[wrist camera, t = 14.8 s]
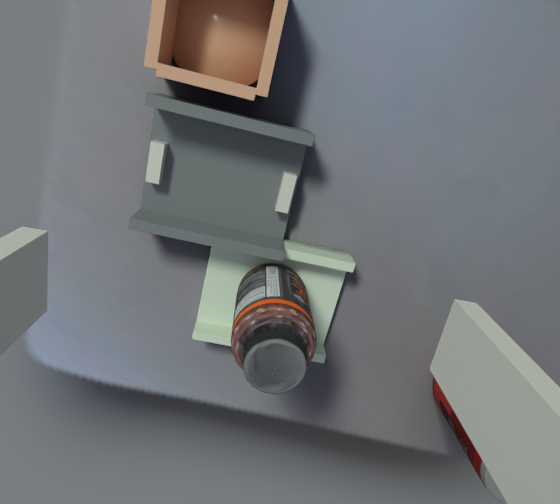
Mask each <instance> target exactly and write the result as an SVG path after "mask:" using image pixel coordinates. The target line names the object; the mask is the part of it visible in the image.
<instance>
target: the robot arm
mask: <svg viewBox="0 0 560 504" xmlns="http://www.w3.org/2000/svg"><path fill="white" fill-rule="evenodd" d="M47 272H48V231H45V230H39V229H33V228H27V227H21V228H19V229H17V230H15V231H13V232H11V233H9V234H8V235H6V236H4V237H2V238H0V355H1V354H2V353H3V352H4V351H6V350H7V349H8V348H9V347H10V346H11V345H12V344H13V343H14V342H15V341H16V340H17V339H18V338H19V337H20V336H21V335H22V334H23V333H24V332H25V331H26V330H27V329H28V328H29V327H30V326H31V325H32V324H33V323H34V322H35V321H37V320H38V319H39V318H40V317H41V316H42V315H43V314H44V313H45V312H46V311H47ZM430 370H431V372H432V374H433V376H434V377H435V379H436V381H437V383H438V384H439V386H440V388H441V390H442V391H443V393H444V395H445V396H446V398H447V400H448V402H449V403H450V405H451V407H452V409H453V410H454V412H455V414H456V416H457V417H458V419H459V421H460V422H461V424H462V426H463V428H464V429H465V431H466V433H467V435H468V436H469V438H470V440H471V442H472V443H473V445H474V447H475V448H476V450H477V452H478V454H479V455H480V457H481V459H482V461H483V462H484V464H485V466H486V468H487V469H488V471H489V473H490V474H491V476H492V478H493V480H494V481H495V483H496V485H497V487H498V488H499V490H500V492H501V493H502V495H503V497H504V499H505V500H506V502H507V504H560V387H559V386H558V385H557V384H556V383H555V382H554V381H553V380H552V379H551V378H550V377H549V376H548V375H547V374H546V373H545V372H544V371H543V370H542V369H541V368H540V367H539V366H538V365H537V364H536V363H535V362H534V361H533V360H532V359H531V358H530V357H529V356H528V355H527V354H526V353H525V352H524V351H523V350H522V349H521V348H520V347H519V346H518V345H517V344H516V343H515V342H514V341H513V340H512V339H511V338H510V337H509V336H508V335H507V334H506V333H505V332H504V331H503V329H502V328H501V327H500V326H499V325H498V324H497V323H496V322H495V321H494V320H493V319H492V318H491V317H490V316H489V315H488V314H487V313H486V312H485V311H484V310H483V309H482V308H481V307H480V306H479V305H478V304H477V303H474V302H468V301H462V300H456V299H454V302H453V305H452V308H451V311H450V313H449V316H448V319H447V322H446V324H445V327H444V330H443V333H442V336H441V338H440V341H439V344H438V347H437V349H436V352H435V355H434V358H433V361H432V363H431V366H430Z"/></svg>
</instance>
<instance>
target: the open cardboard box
mask: <svg viewBox="0 0 560 504" xmlns="http://www.w3.org/2000/svg"><path fill="white" fill-rule="evenodd" d="M287 5H288V0H275V3H273V0H152V7H151V15H150V22H149V30H148V38H147V46H146V53H145V61H144V66H146V67H150V68H154V69H157V70H156V76H159V77H163V78H166V79H170V80H174V81H178V82H182V83H186V84H190V85H194V86H198V87H202V88H206V89H210V90H214V91H217V92H221V93H225V94H229V95H233V96H237V97H241V98H245V99H249V100H253V101H254V100H255V97H256V95H259V96H263V97H267V96H268V92H269V87H270V82H271V78H272V73H273V69H274V64H275V60H276V55H277V51H278V46H279V41H280V37H281V32H282V28H283V23H284V19H285V14H286V10H287ZM172 58H174V60H175V62H176V63H177V65H178V66H179V67H180V68H177V67H173V66H171V65H172ZM257 80H258V84H257V88H254V87H250V86H249V85H251V84H252V83H254V82H255V81H257Z"/></svg>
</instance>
